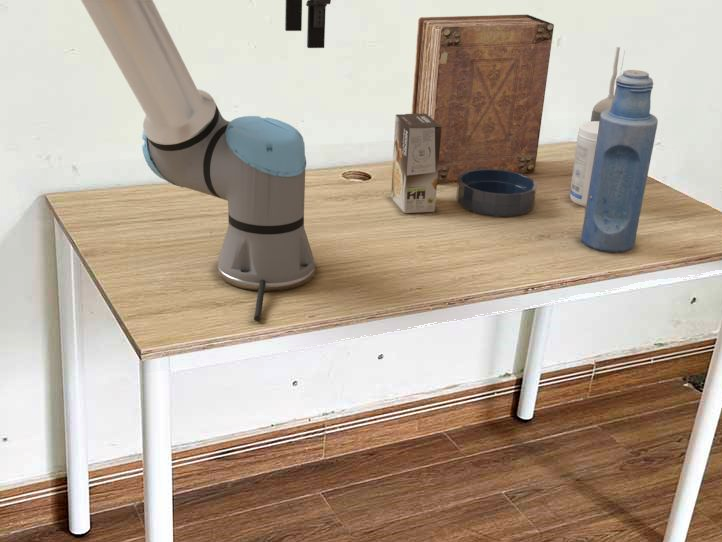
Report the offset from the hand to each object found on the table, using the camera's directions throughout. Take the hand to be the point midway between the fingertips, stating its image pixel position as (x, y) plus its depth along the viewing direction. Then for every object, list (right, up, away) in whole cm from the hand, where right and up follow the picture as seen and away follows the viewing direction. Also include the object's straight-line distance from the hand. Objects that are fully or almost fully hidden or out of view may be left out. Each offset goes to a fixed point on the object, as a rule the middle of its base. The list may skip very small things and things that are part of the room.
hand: (304, 39), depth 178 cm
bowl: (+34, -23, +25) cm, 48 cm away
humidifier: (+59, -11, +49) cm, 77 cm away
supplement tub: (+54, -22, +29) cm, 65 cm away
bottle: (+53, -33, +10) cm, 63 cm away
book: (+31, -14, +41) cm, 53 cm away
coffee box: (+18, -24, +21) cm, 37 cm away
